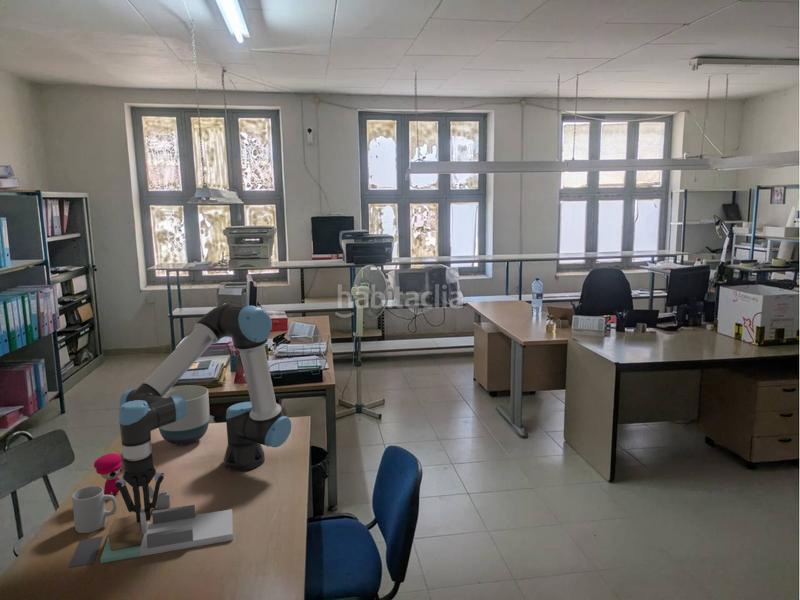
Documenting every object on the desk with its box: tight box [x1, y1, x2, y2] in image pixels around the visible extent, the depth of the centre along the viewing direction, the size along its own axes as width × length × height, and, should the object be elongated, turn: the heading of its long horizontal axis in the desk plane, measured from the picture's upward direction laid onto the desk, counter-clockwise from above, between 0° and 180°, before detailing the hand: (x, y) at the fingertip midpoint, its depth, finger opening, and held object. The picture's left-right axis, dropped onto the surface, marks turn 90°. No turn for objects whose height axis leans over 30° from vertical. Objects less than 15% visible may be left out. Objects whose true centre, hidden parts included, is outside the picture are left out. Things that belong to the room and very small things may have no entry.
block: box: [107, 514, 144, 551], centre depth 158 cm, size 8×8×5 cm
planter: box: [158, 384, 210, 446], centre depth 226 cm, size 20×20×21 cm
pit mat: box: [67, 536, 104, 569], centre depth 155 cm, size 6×13×1 cm, turn 18°
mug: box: [71, 485, 118, 534], centre depth 168 cm, size 12×8×11 cm
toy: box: [93, 452, 123, 496], centre depth 183 cm, size 8×8×15 cm
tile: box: [100, 538, 141, 564], centre depth 158 cm, size 10×14×1 cm
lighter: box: [149, 484, 171, 510], centre depth 178 cm, size 7×2×8 cm, turn 106°
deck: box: [139, 504, 234, 557], centre depth 163 cm, size 25×14×6 cm, turn 108°
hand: (145, 530), depth 159 cm, fingers closed
